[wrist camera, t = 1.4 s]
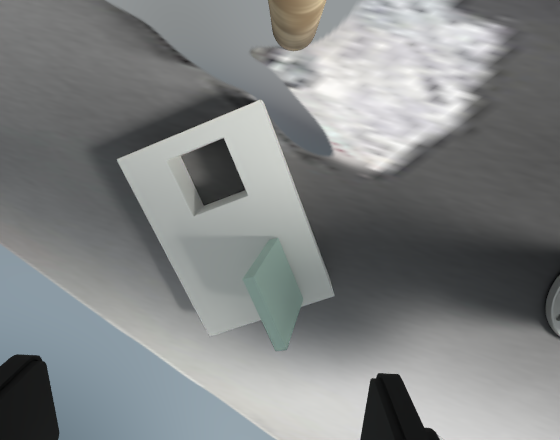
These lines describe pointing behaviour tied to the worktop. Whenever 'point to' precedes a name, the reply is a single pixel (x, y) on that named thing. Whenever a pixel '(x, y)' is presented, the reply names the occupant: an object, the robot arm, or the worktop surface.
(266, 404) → the worktop surface
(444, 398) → the worktop surface
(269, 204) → the block
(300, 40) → the dowel
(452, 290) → the worktop surface
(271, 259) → the latch flap
